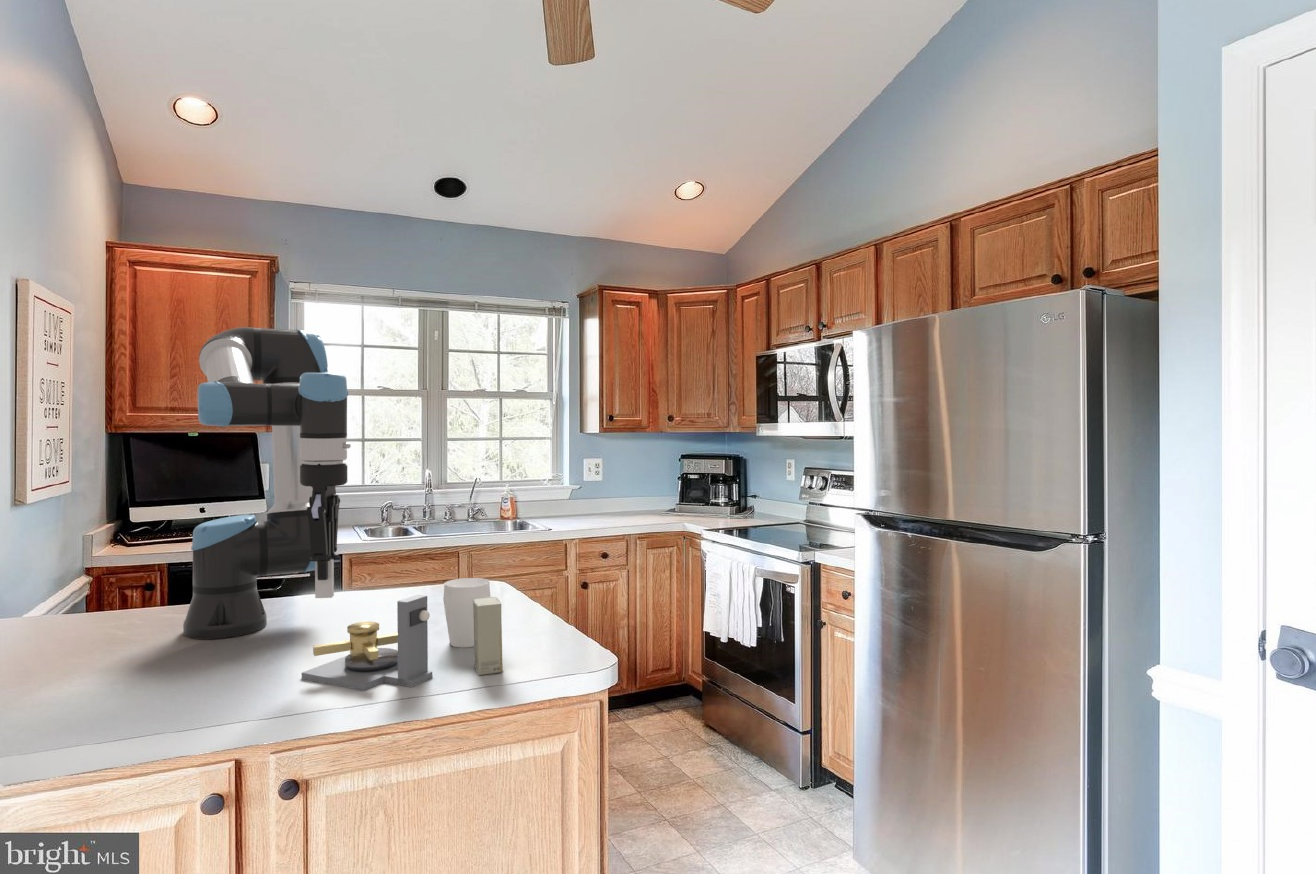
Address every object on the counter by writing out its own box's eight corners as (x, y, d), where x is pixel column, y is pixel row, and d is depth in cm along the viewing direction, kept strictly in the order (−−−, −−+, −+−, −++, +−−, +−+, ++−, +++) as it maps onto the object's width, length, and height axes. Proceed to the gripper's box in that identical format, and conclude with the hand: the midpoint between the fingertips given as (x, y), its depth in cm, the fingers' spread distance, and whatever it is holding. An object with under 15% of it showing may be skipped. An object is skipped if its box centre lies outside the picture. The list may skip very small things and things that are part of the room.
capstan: (322, 686, 121) (322, 644, 121) (306, 659, 134) (306, 621, 134) (429, 667, 130) (428, 628, 130) (404, 644, 144) (404, 608, 144)
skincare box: (503, 673, 132) (502, 604, 131) (477, 676, 130) (476, 606, 130) (497, 662, 137) (497, 595, 137) (472, 664, 136) (472, 597, 136)
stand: (301, 678, 129) (300, 597, 128) (363, 654, 141) (363, 580, 141) (394, 696, 120) (394, 609, 120) (451, 669, 133) (451, 591, 133)
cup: (478, 651, 144) (478, 588, 143) (435, 648, 145) (434, 586, 145) (497, 637, 152) (497, 578, 152) (456, 635, 154) (456, 576, 154)
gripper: (338, 465, 124) (338, 606, 126) (354, 459, 137) (355, 587, 138) (289, 465, 123) (290, 607, 124) (311, 459, 136) (311, 588, 137)
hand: (324, 596), depth 131 cm, fingers closed
